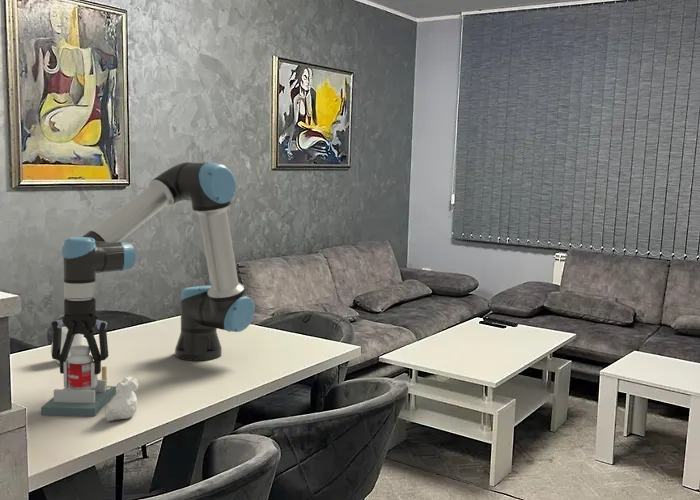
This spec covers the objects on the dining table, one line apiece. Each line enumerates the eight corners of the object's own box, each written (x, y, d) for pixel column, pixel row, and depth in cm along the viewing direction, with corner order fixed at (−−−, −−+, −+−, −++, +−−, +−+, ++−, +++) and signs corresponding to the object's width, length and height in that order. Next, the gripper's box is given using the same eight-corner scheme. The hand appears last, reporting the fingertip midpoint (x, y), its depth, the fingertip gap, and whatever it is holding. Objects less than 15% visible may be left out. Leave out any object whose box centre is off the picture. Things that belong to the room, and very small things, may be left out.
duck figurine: (112, 434, 168) (140, 400, 166) (88, 413, 168) (116, 379, 166) (134, 417, 180) (160, 385, 178) (111, 398, 180) (137, 366, 178)
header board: (116, 393, 191) (116, 364, 190) (94, 416, 173) (94, 384, 172) (67, 392, 190) (67, 363, 190) (41, 415, 173) (40, 383, 172)
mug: (62, 369, 212) (62, 335, 211) (40, 365, 215) (40, 332, 213) (89, 359, 223) (89, 328, 222) (68, 356, 226) (68, 325, 225)
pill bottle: (63, 389, 181) (62, 347, 180) (85, 384, 186) (85, 343, 185) (75, 394, 177) (75, 351, 176) (97, 389, 182) (97, 347, 181)
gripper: (122, 296, 183) (122, 382, 185) (47, 294, 182) (48, 380, 185) (113, 301, 175) (113, 391, 178) (35, 299, 175) (37, 389, 177)
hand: (80, 385), depth 181 cm, fingers closed on pill bottle, 6 cm apart
